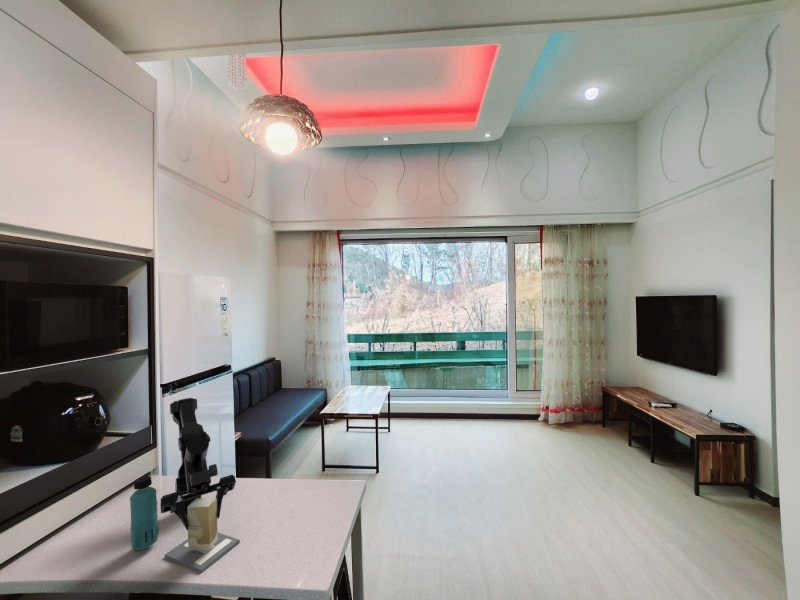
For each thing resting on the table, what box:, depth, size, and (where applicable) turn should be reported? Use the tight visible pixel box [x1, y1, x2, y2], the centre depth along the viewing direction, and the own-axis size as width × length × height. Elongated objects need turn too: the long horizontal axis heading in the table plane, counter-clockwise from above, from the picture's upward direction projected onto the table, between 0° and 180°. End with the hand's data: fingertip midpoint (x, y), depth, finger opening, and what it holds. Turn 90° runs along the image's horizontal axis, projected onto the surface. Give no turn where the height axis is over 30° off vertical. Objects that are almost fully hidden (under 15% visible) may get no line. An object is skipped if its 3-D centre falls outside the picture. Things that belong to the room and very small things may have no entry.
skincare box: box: [186, 497, 218, 550], centre depth 97 cm, size 6×4×12 cm
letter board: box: [163, 531, 241, 574], centre depth 98 cm, size 15×12×1 cm
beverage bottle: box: [129, 475, 159, 551], centre depth 99 cm, size 6×7×20 cm
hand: (203, 523), depth 96 cm, fingers closed on skincare box, 7 cm apart
